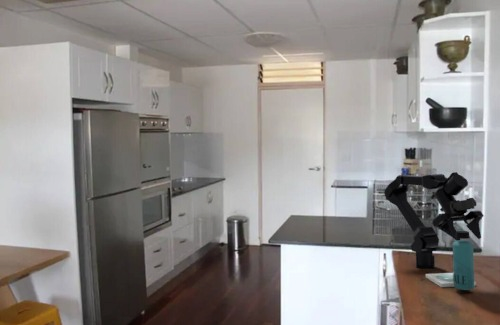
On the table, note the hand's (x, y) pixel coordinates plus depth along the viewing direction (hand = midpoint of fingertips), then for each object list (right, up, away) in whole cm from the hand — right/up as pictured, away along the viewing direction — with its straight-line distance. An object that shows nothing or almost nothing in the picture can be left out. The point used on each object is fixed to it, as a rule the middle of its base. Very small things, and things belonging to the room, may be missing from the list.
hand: (469, 239), depth 150 cm
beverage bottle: (-7, -15, -10) cm, 20 cm away
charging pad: (-6, -15, +1) cm, 16 cm away
